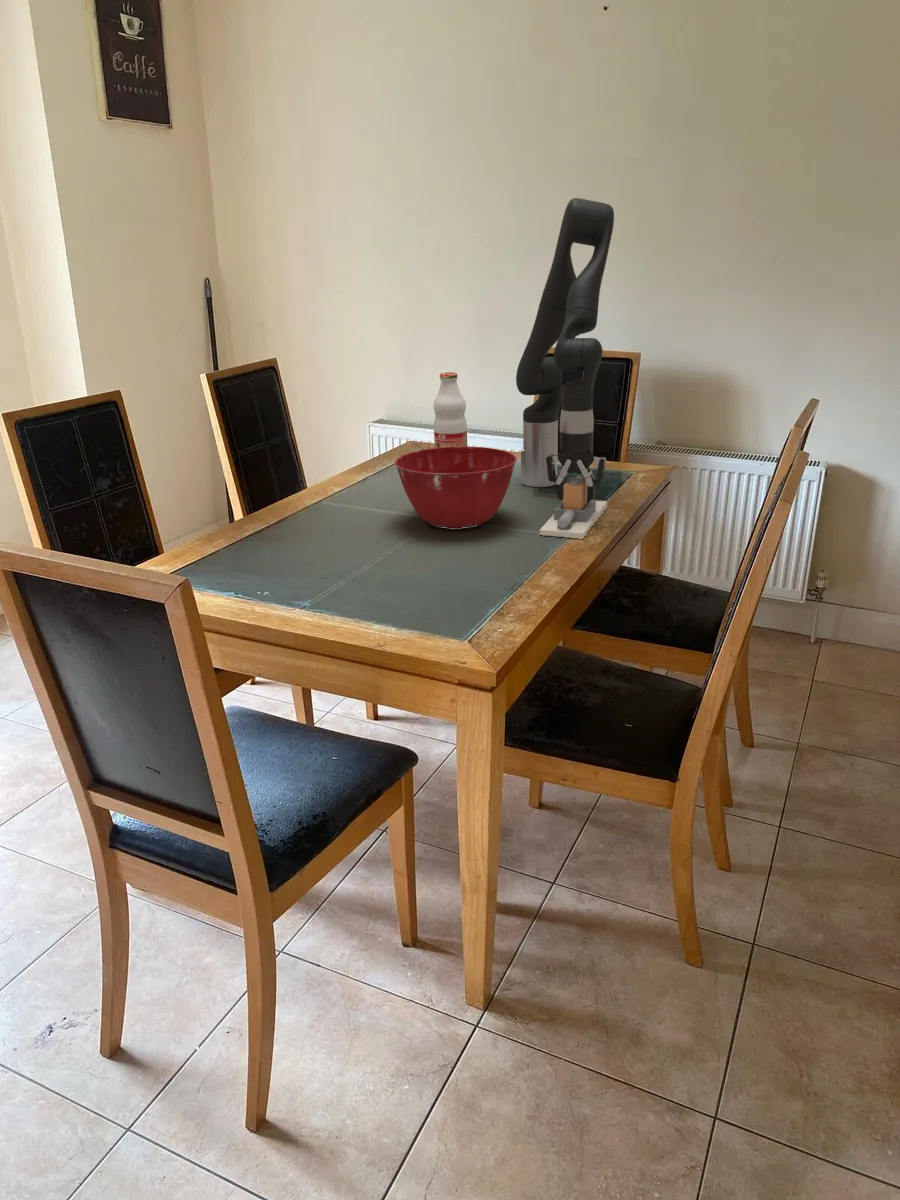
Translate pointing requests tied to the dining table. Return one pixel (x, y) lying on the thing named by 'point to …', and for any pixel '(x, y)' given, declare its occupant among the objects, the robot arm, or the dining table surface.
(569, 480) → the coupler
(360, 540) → the dining table surface
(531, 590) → the dining table surface
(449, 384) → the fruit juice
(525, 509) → the dining table surface
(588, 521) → the shaft rig
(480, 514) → the mixing bowl
